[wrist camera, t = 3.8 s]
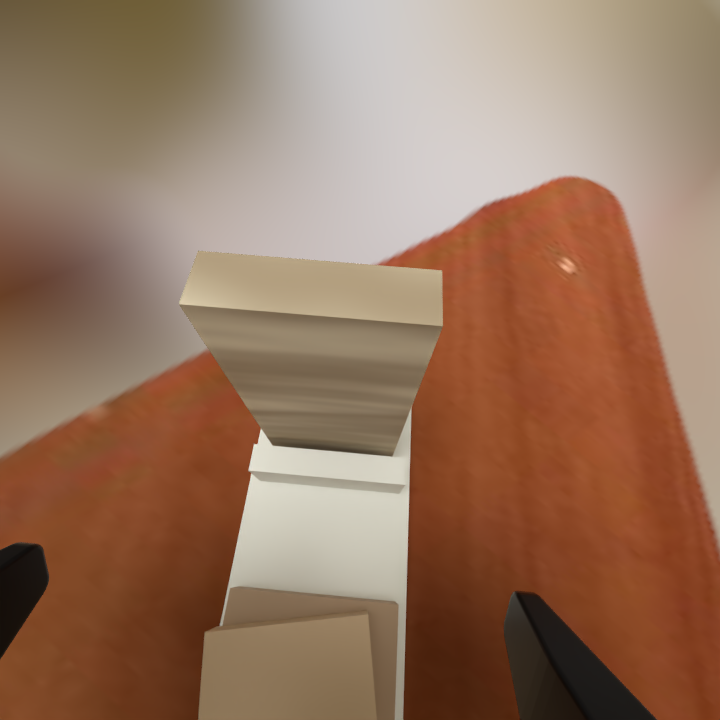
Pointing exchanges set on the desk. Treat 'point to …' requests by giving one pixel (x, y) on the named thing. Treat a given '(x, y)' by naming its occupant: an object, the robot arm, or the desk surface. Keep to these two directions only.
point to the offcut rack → (315, 590)
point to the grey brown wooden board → (318, 344)
